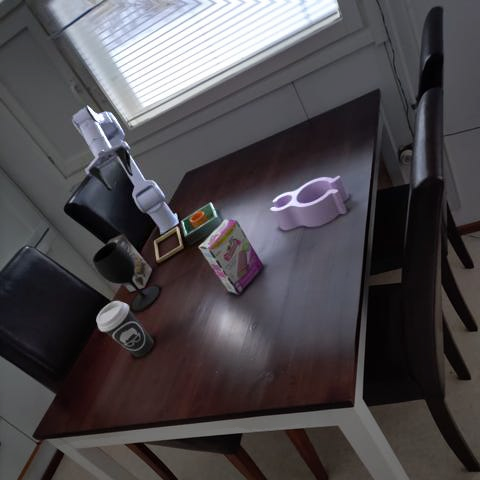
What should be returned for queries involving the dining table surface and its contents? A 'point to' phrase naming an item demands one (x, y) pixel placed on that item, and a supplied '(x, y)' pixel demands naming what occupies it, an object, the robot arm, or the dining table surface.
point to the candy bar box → (231, 256)
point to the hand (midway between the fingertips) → (120, 181)
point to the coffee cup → (124, 328)
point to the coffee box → (141, 266)
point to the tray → (172, 250)
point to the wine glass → (122, 272)
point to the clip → (311, 204)
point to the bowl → (198, 219)
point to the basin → (197, 233)
